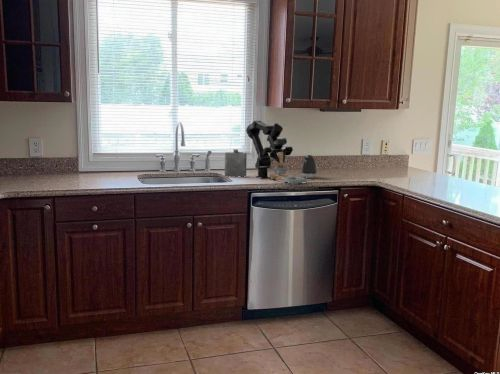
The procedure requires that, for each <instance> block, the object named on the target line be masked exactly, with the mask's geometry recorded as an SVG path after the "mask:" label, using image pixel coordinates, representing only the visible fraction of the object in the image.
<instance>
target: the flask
mask: <svg viewBox="0 0 500 374" xmlns="http://www.w3.org/2000/svg"><path fill="white" fill-rule="evenodd" d="M247 156H248V155H247V152H243V151H239V149H236V148H235V149H233V151H231V152H230V151H229V152H228V151H227V152H226V151H225V152H224V177H225V176H246V177H247Z"/></svg>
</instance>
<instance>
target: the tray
mask: <svg viewBox="0 0 500 374" xmlns="http://www.w3.org/2000/svg"><path fill="white" fill-rule="evenodd" d="M281 181H285V182H289V183H291V184H290V185H299V184H298V183H302V182H306V183H307V178H304V177H299V176H294V177H284V178H281ZM281 181H280V182H281ZM302 184H303V183H302Z"/></svg>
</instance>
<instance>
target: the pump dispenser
mask: <svg viewBox="0 0 500 374" xmlns="http://www.w3.org/2000/svg"><path fill="white" fill-rule="evenodd" d="M303 158H304V159H303V162H302V165H301V175H302V178H304V177H307V178H306V179H314V178H316V176H317V173H318V167H317V162H316V160H315V157H314V156H313V155H312V154H308V155H306V156H303ZM313 177H314V178H313Z"/></svg>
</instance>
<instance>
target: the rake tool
mask: <svg viewBox="0 0 500 374" xmlns="http://www.w3.org/2000/svg"><path fill="white" fill-rule="evenodd" d="M277 155H278V158H279V161H280V162H279V163H278V162H277V166H274V174H275V175H279V174H286V175H287V167H285V166H284V163H283V152H278V153H277Z"/></svg>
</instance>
